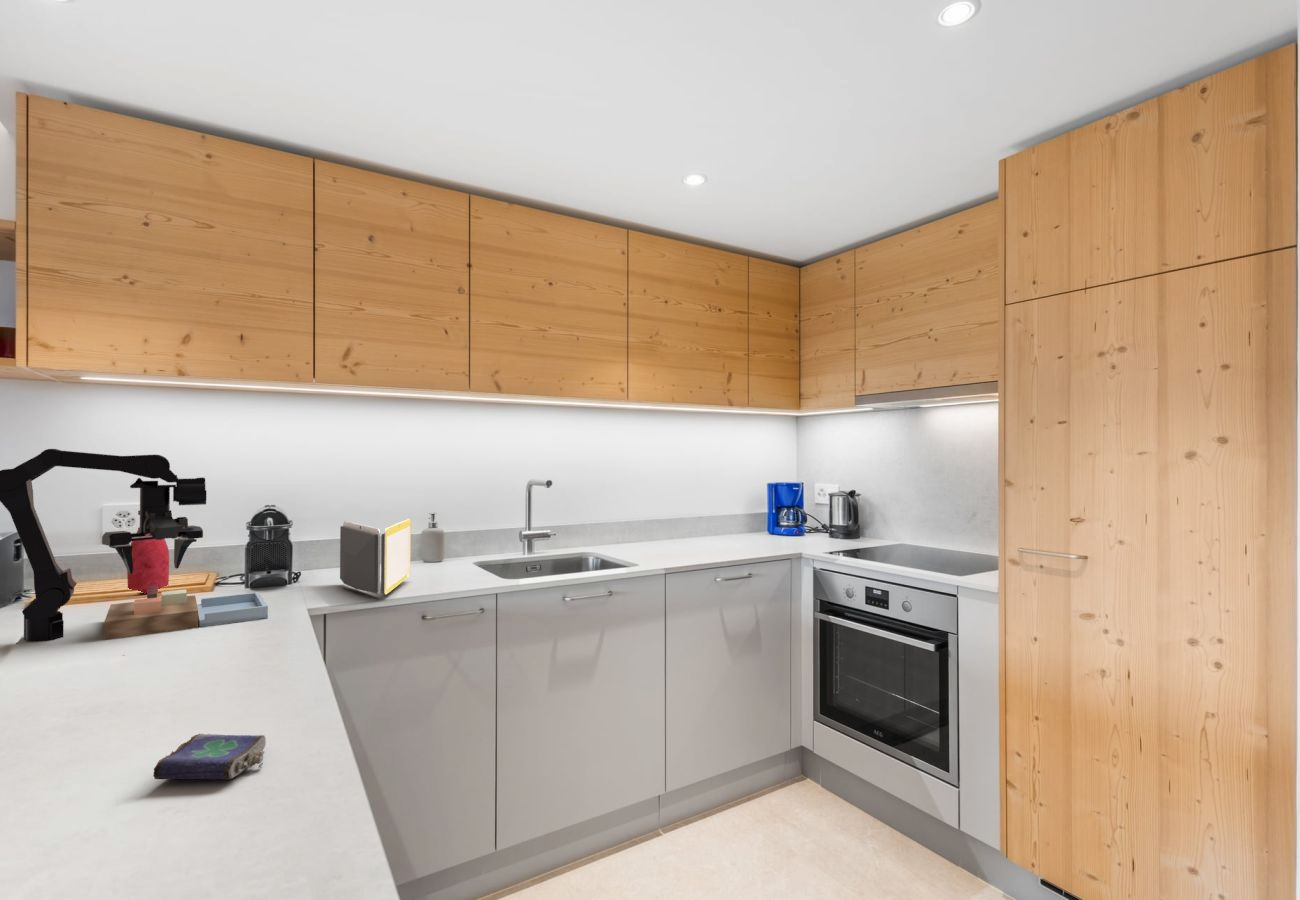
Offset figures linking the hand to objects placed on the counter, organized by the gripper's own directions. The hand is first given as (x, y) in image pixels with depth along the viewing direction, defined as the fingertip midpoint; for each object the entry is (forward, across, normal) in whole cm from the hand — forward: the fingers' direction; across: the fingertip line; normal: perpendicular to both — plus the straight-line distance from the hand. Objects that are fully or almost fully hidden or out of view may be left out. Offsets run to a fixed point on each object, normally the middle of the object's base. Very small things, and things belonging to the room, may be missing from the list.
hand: (154, 571), depth 156 cm
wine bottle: (+13, +13, +44) cm, 48 cm away
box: (+13, +15, -5) cm, 20 cm away
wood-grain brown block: (+13, 0, 0) cm, 13 cm away
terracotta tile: (+9, -2, -3) cm, 10 cm away
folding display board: (+13, +60, -4) cm, 62 cm away
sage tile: (+9, +5, +2) cm, 10 cm away
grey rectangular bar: (+13, +6, +20) cm, 25 cm away
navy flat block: (+14, -26, -89) cm, 94 cm away
